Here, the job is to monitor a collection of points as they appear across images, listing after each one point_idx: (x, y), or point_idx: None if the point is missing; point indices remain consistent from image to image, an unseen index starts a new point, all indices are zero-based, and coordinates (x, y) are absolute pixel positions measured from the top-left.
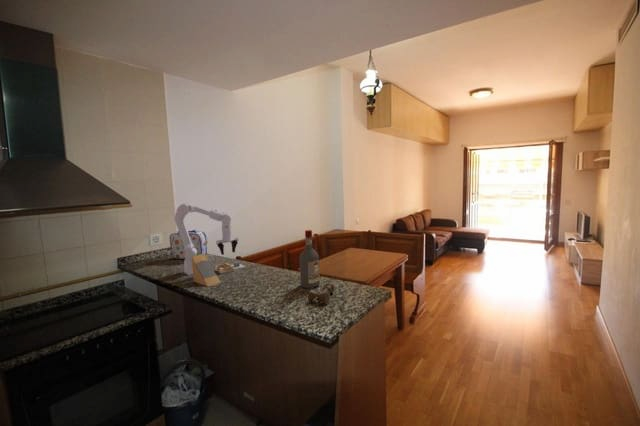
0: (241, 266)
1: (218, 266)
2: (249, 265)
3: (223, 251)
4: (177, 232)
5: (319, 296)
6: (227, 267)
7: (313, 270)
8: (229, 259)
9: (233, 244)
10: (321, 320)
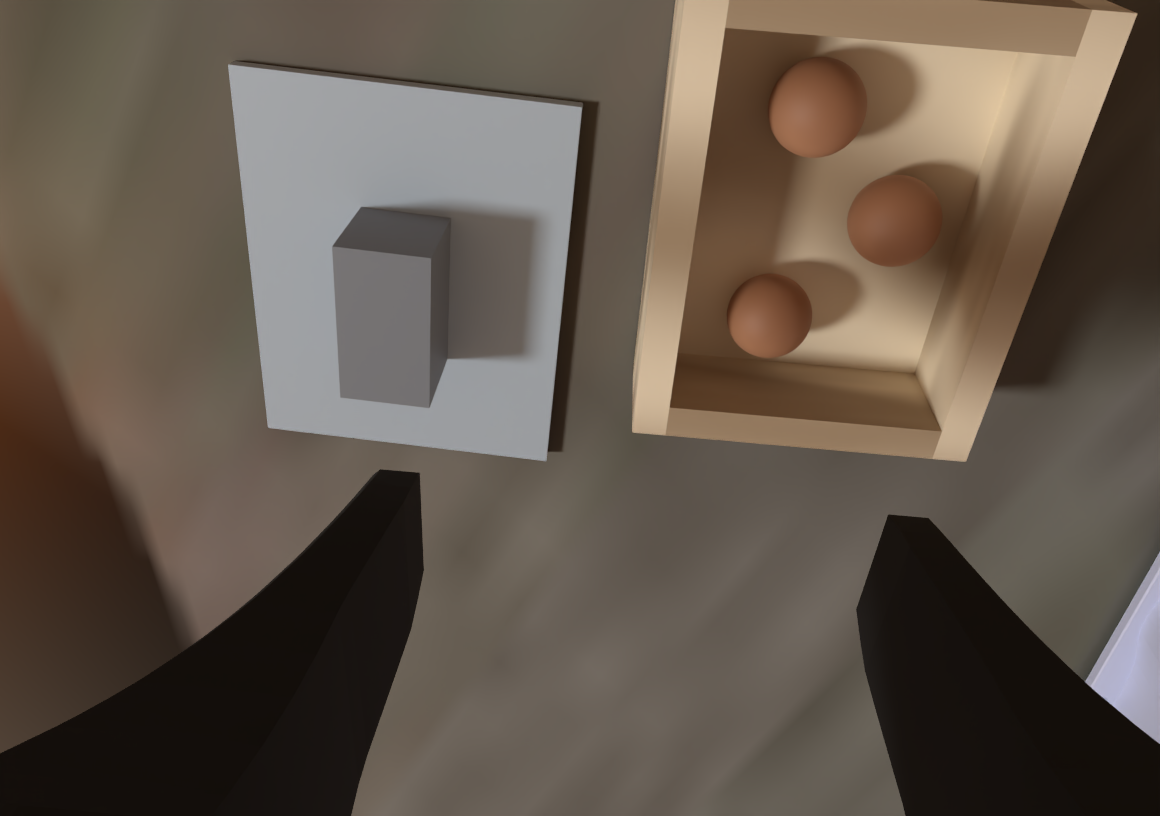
0: (324, 158)
1: (886, 411)
2: (92, 103)
3: (951, 600)
4: None
5: None
6: (914, 12)
7: None
8: None
9: (292, 810)
10: None
